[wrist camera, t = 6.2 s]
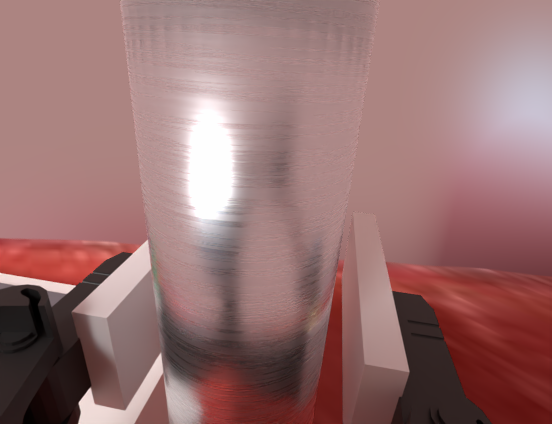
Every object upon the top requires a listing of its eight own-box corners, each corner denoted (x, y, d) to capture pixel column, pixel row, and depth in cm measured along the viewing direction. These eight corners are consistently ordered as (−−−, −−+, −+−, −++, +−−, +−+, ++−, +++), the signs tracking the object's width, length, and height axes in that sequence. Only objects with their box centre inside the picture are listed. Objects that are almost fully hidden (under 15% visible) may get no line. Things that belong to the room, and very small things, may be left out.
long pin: (311, 578, 11) (444, -15, 4) (198, 649, 9) (120, -76, 3) (267, 464, 14) (303, 9, 7) (176, 505, 12) (113, -15, 6)
